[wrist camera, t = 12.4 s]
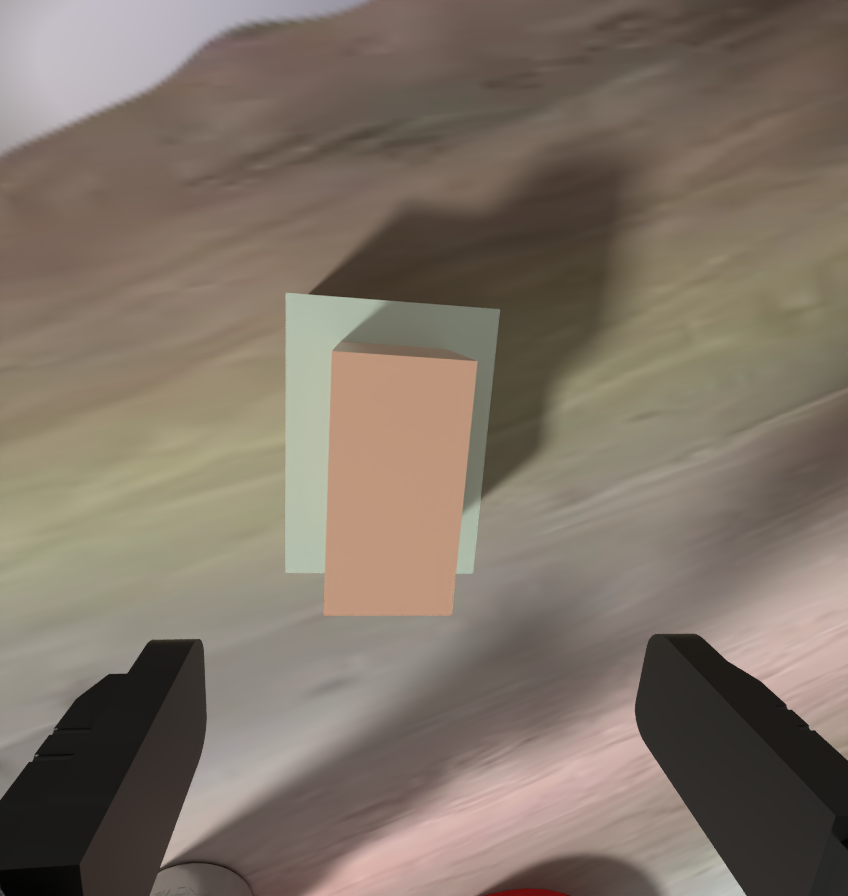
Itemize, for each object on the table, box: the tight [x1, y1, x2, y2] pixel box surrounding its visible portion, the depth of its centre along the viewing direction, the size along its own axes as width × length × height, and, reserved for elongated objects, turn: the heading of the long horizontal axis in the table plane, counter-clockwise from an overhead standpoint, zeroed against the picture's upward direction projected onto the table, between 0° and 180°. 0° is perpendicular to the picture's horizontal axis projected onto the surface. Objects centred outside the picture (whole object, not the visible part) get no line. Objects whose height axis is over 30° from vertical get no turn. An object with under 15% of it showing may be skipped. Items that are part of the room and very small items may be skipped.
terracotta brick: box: [324, 341, 478, 616], centre depth 22 cm, size 5×10×7 cm, turn 175°
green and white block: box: [285, 293, 500, 574], centre depth 28 cm, size 14×10×7 cm
